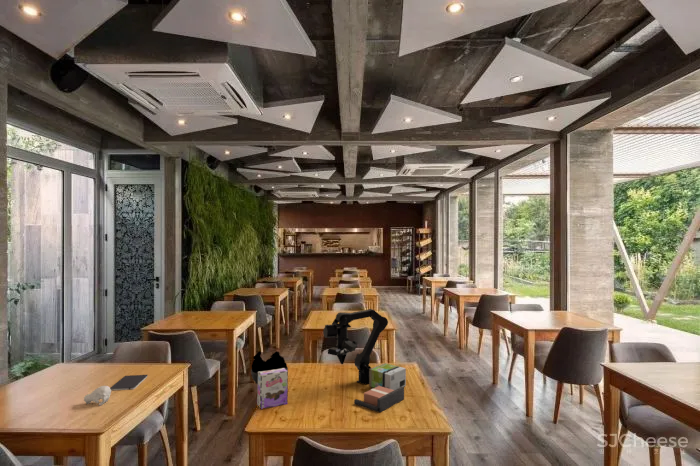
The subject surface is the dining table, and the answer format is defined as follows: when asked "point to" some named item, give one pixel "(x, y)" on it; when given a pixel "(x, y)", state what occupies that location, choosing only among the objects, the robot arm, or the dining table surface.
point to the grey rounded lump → (98, 395)
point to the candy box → (272, 388)
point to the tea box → (387, 376)
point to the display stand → (384, 401)
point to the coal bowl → (266, 364)
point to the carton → (375, 394)
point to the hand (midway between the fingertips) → (342, 364)
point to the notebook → (129, 382)
